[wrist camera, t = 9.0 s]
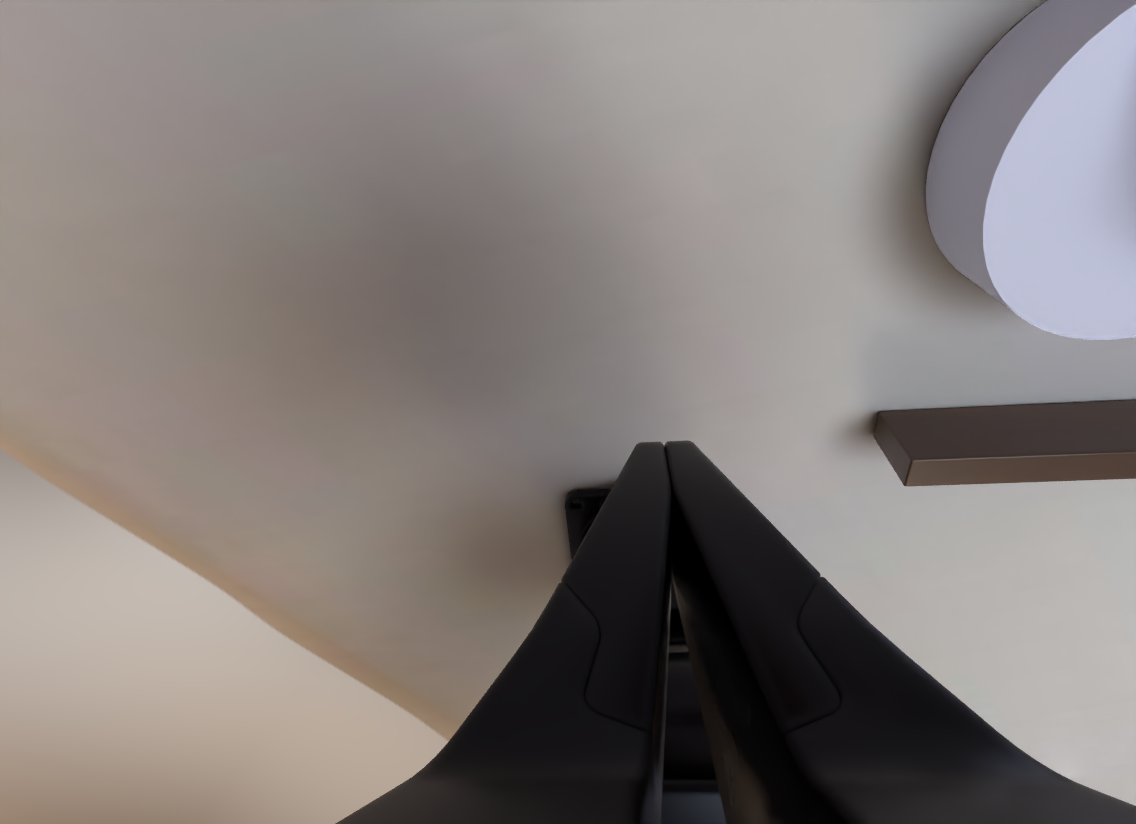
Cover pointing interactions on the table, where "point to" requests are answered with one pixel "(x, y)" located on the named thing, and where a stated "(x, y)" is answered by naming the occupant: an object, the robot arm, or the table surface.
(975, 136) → the wedge on round base
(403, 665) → the table surface
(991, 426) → the bay
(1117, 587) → the table surface
